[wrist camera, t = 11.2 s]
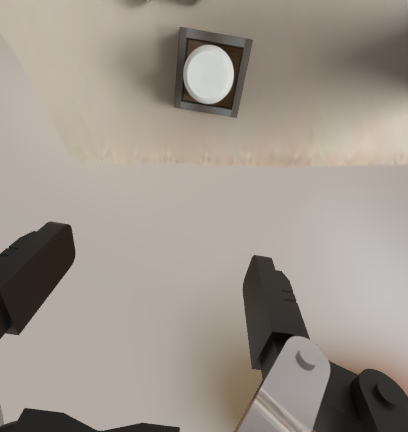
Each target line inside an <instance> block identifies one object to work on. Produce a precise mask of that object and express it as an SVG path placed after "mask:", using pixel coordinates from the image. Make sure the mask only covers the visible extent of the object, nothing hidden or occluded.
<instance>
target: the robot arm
mask: <svg viewBox="0 0 408 432" xmlns="http://www.w3.org/2000/svg"><path fill="white" fill-rule="evenodd" d="M74 259H75V246H74V241H73V234H72V229H71V226H70V225H68V224H62V223H56V222H48V223H46V224H45V225H44V226H43V227H42V228H40V229H39V230H38V231H37V232H35V231H33V232H31V233H29V234H27V235H25V236H23V237H20V238H19V239H18V240H17V241H15V242H14V243H13V244H12V245H10V246H9V248H8V249H5V250H4V251H3V252H2V253H1V254H0V339H1V337H2V336H3V335H4V334H5V333H7V334H14V335H19V334H20V333H21V332H22V330H23V329H24V328H25V326H26V325H27V324H28V322H29V321H30V320H31V318H32V317H33V316H34V314H35V313H36V312H37V310H38V309H39V308H40V306H41V305H42V304H43V303H44V301H45V300H46V298H47V297H48V296H49V294H50V293H51V292H52V291H53V289H54V288H55V287H56V285H57V284H58V283H59V282H60V280H61V279H62V278H63V276H64V275H65V273H66V272H67V271H68V270H69V268H70V267H71V266H72V264H73V262H74ZM243 298H244V305H245V314H246V323H247V332H248V340H249V349H250V357H251V365H252V369H257V370H261V371H262V377H263V380H262V382H261V384H260V385H259V387H258V389H257V391H256V393H255V394H254V396H253V398H252V400H251V402H250V403H249V405H248V407H247V408H246V410H245V412H244V414H243V416H242V417H241V419H240V421H239V423H238V424H237V426H236V428H235V430H234V431H233V432H312V429H313V430H315V431H317V432H408V397H407V395H406V394H405V392H404V391H403V390H402V389H401V388H400V386H399V385H398V384H397V383H396V382H395V381H393V380H392V379H391V378H390V377H388V376H387V375H385V374H383V373H382V372H379V371H377V370H374V369H366V370H363V371H362V372H361V373H360V374H359V375H357V374H355V373H353V372H351V371H349V370H347V369H345V368H342V367H340V366H338V365H336V364H334V363H332V362H330V361H329V360H328V359H327V357H326V355H325V354H324V352H323V351H322V350H321V349H320V347H319V346H318V345H316V344H315V343H314V342H312V341H311V340H310V338H309V336H308V333H307V330H306V327H305V324H304V321H303V318H302V316H301V313H300V310H299V307H298V304H297V303H296V298H295V295H294V294H293V290H292V287H291V284H290V281H289V280H288V279H287V277H286V276H285V275H284V274H283V273H282V271H276V270H275V267H274V264H273V261H272V258H269V257H264V256H257V255H254V256H253V257H252V259H251V262H250V265H249V268H248V270H247V273H246V276H245V279H244V283H243ZM179 430H180V428H179V427H171V426H163V425H155V424H147V423H140V424H135V425H130V426H125V427H120V428H115V429H110V430H105V431H97V430H95V429H93V428H91V427H89V426H87V425H85V424H83V423H81V422H80V421H77V420H76V419H74V418H72V417H70V416H68V415H66V414H64V413H60V412H52V411H44V410H36V409H28V408H25V409H24V410H23V412H22V414H21V416H20V417H19V419H18V421H14V422H11V423H8V424H4V422H3V414H2V410H1V407H0V432H179Z"/></svg>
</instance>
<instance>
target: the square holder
mask: <svg viewBox="0 0 408 432" xmlns="http://www.w3.org/2000/svg"><path fill="white" fill-rule="evenodd" d="M252 41H253V40H251V39H245V38H239V37H234V36H228V35H223V34H217V33H211V32H206V31H200V30H194V29H189V28H183V27H180V32H179V46H178V60H177V74H176V88H175V102H174V107H175V108H181V109H187V110H193V111H199V112H205V113H211V114H217V115H223V116H229V117H235V118H237V114H238V109H239V104H240V99H241V94H242V90H243V85H244V80H245V75H246V70H247V65H248V60H249V55H250V51H251V46H252ZM203 45H214V46H217V47H219V48H221V49H222V50H224V51H225V52H226V53H227V55H228V56H229V58H230V59H231V62H232V64H233V69H234V80H233V84H232V87H231V89H230V91H229V93H228V94H227V95H226V96H225V97H224V98H223V99H222V100H220V101H219V102H217V103H213V104H204V103H201V102H198V101H197V100H195V99H194V98H193V97H192V96H191V95H190V94H189V93H188V91H187V89H186V87H185V84H184V79H183V70H184V65H185V62H186V60H187V58H188V57H189V55H190V54H191V53H192V52H193V51H194V50H195V49H196V48H198V47H200V46H203Z"/></svg>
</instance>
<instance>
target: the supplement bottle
mask: <svg viewBox="0 0 408 432" xmlns="http://www.w3.org/2000/svg"><path fill="white" fill-rule="evenodd" d="M183 79H184V84H185V87H186V89H187V91H188V93H189V94H190V95H191V96H192V97H193V98H194V99H195V100H197V101H198V102H201V103H204V104H213V103H217V102H219V101H220V100H222V99H223V98H224V97H225V96H226V95H227V94H228V93H229V91H230V89H231V87H232V84H233V80H234V69H233V64H232V62H231V59H230V58H229V56H228V55H227V53H226V52H225V51H224V50H222V49H221V48H219V47H217V46H214V45H203V46H200V47H198V48H196V49H195V50H194V51H193V52H192V53H191V54H190V55H189V57H188V58H187V60H186V62H185V65H184V70H183Z"/></svg>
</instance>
